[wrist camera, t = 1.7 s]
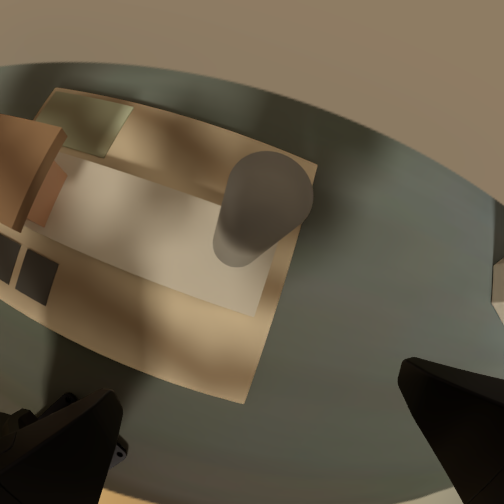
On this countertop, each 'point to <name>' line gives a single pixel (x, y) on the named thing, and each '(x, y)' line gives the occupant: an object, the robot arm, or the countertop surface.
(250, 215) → the knobbed beige slab
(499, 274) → the jar
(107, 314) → the board
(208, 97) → the countertop surface
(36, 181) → the tunnel
